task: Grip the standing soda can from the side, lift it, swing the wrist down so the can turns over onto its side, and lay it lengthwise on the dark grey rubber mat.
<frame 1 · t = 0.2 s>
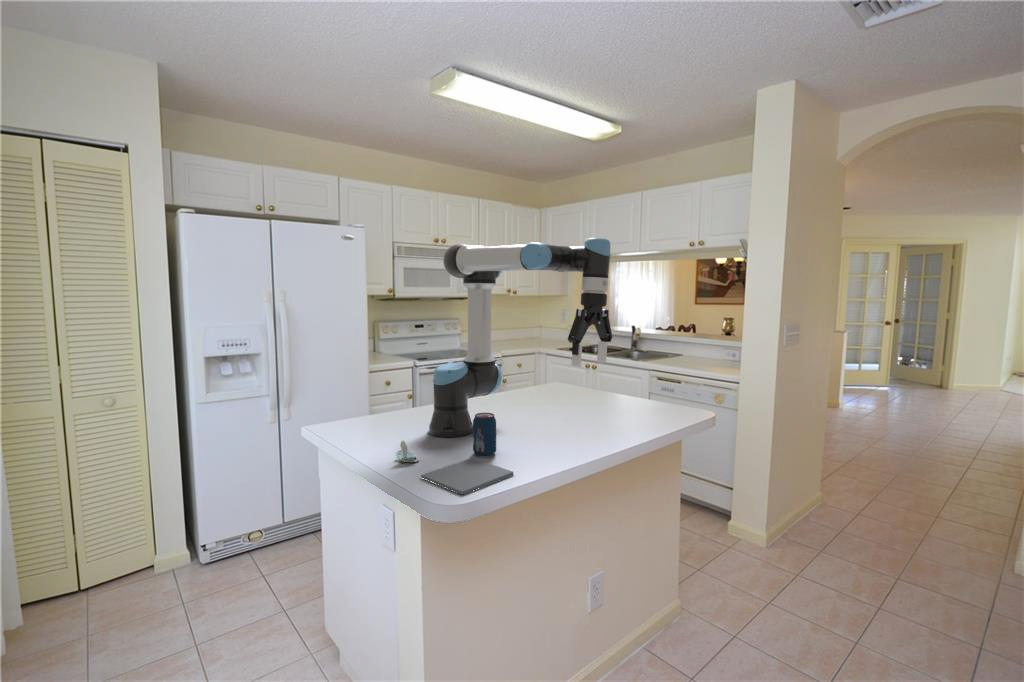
hand: (589, 364, 146), 27 cm above the table, tool pointing down, fingers open, 13 cm apart
soda can: (484, 454, 147), on the table
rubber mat: (467, 476, 129), on the table
pacifier: (408, 461, 141), on the table
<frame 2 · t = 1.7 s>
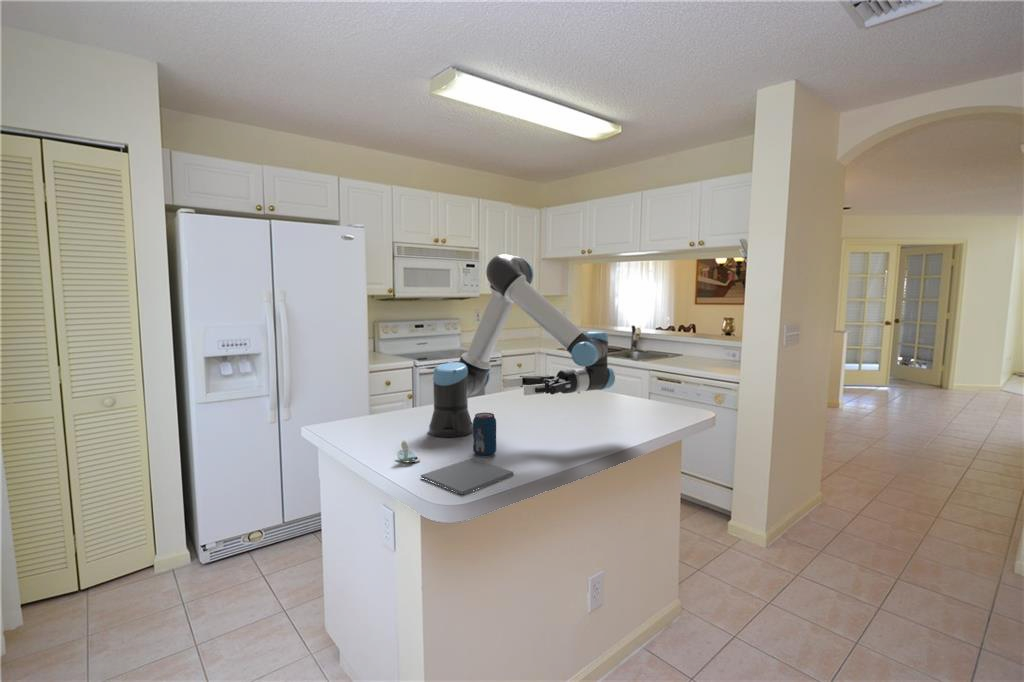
hand: (513, 386, 150), 20 cm above the table, tool horizontal, fingers open, 13 cm apart
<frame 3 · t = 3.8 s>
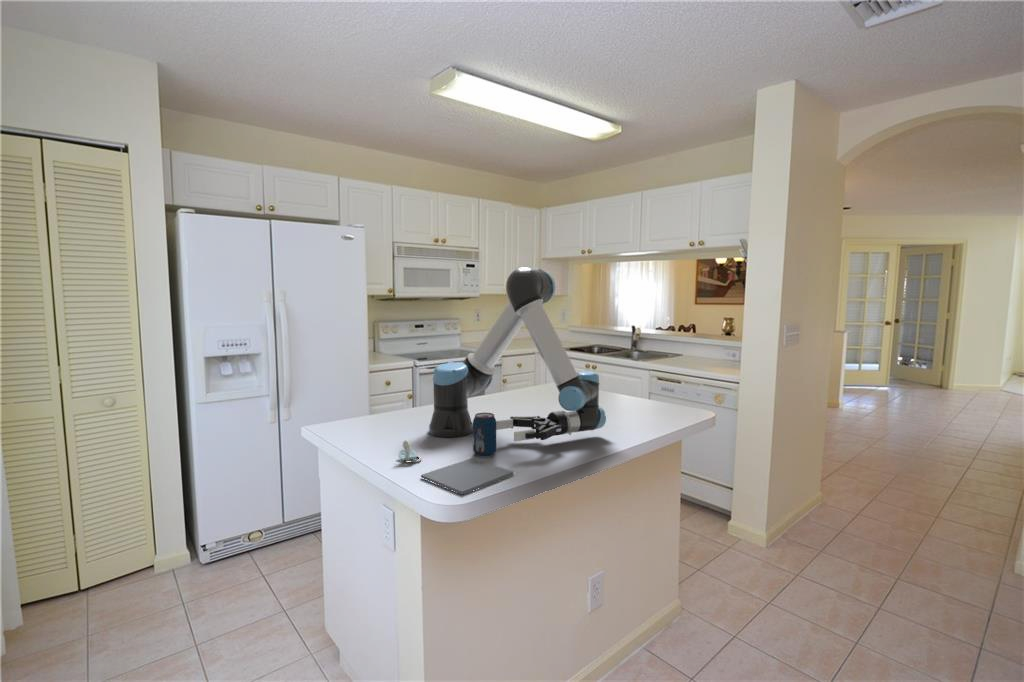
hand: (503, 430, 149), 6 cm above the table, tool horizontal, fingers open, 13 cm apart
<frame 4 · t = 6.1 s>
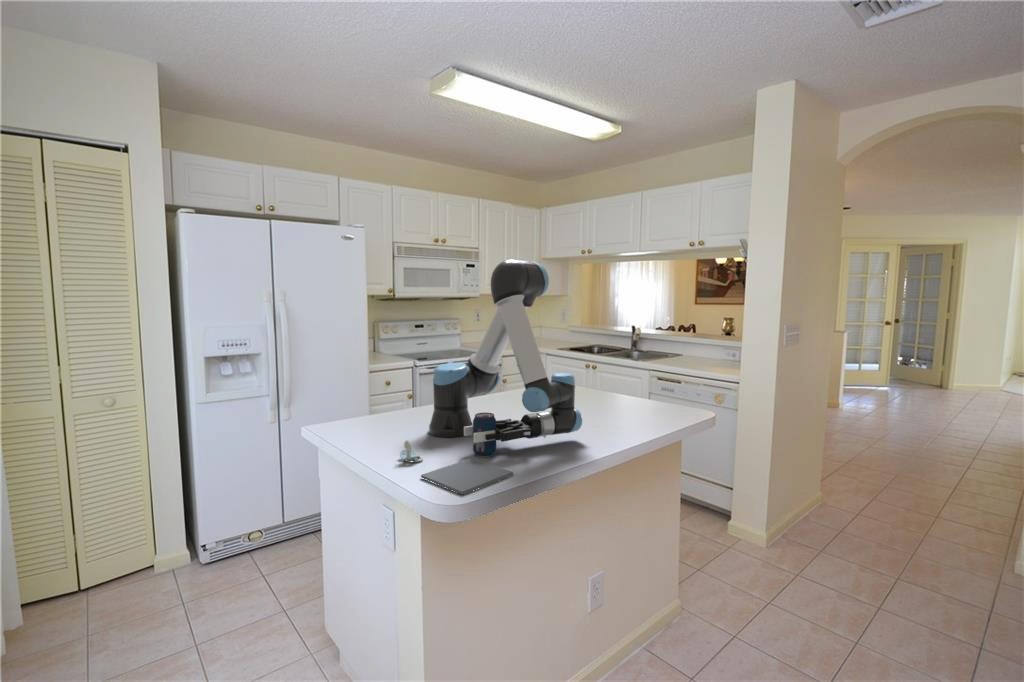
hand: (469, 434, 144), 7 cm above the table, tool horizontal, fingers closed on soda can, 7 cm apart
soda can: (484, 454, 147), on the table, touching gripper
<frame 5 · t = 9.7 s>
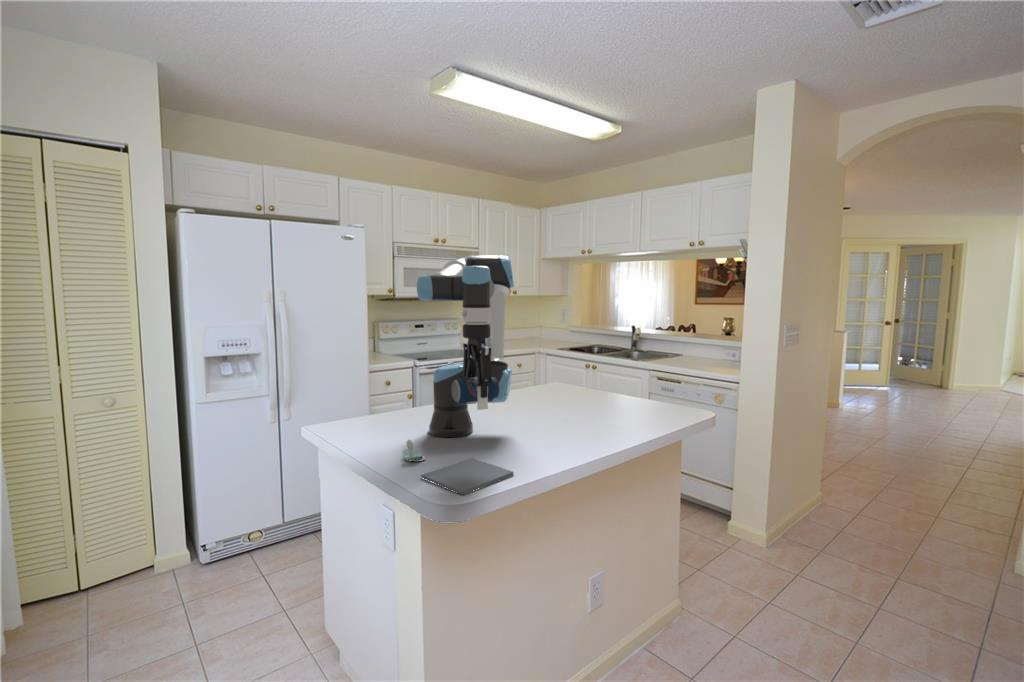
hand: (476, 406, 136), 17 cm above the table, tool pointing down, fingers closed on soda can, 7 cm apart
soda can: (454, 391, 133), point 22 cm above the table, touching gripper
when the fingers open (1 cm above the table, at t = 13.2 s): soda can drops 2 cm, resting on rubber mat.
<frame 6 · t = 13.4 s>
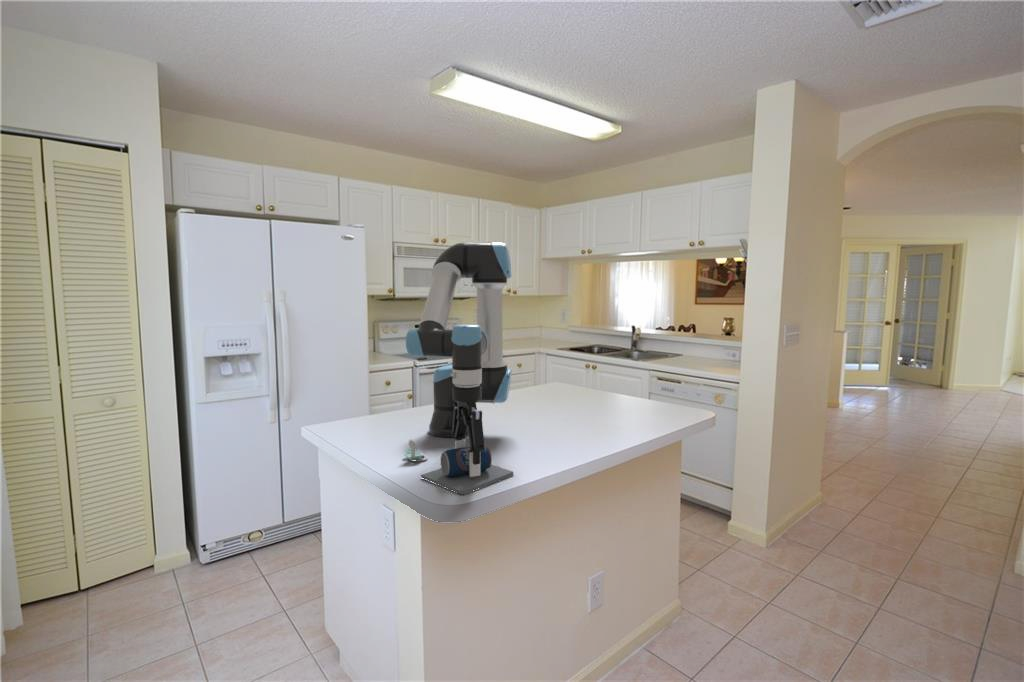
hand: (467, 469, 129), 2 cm above the table, tool pointing down, fingers open, 9 cm apart
soda can: (443, 464, 125), point 4 cm above the table, touching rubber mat
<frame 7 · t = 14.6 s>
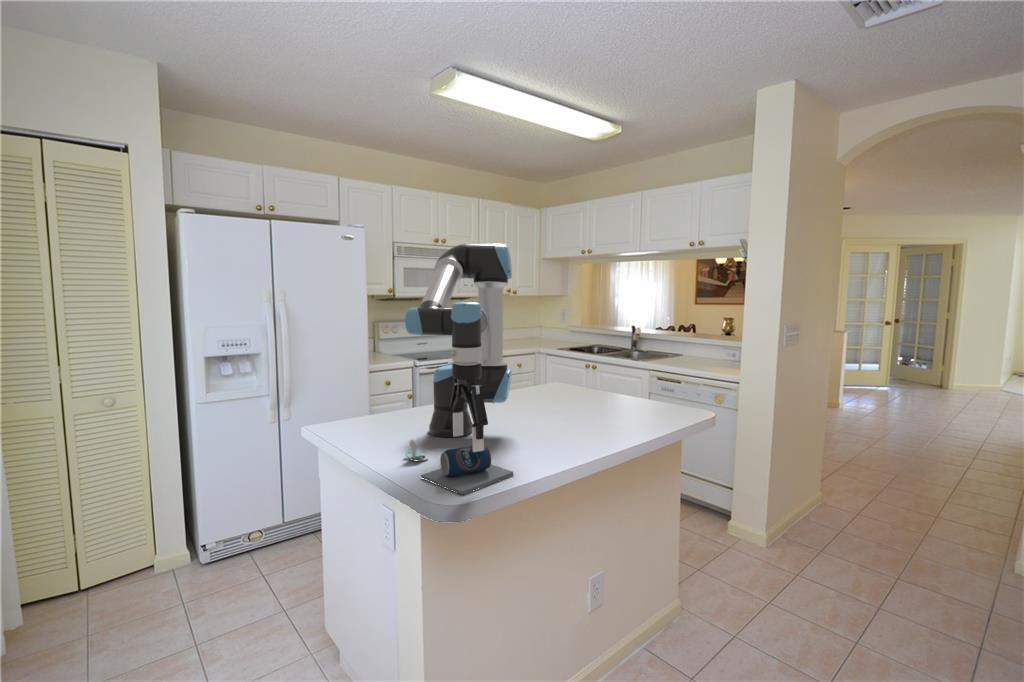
hand: (467, 443, 129), 9 cm above the table, tool pointing down, fingers open, 13 cm apart
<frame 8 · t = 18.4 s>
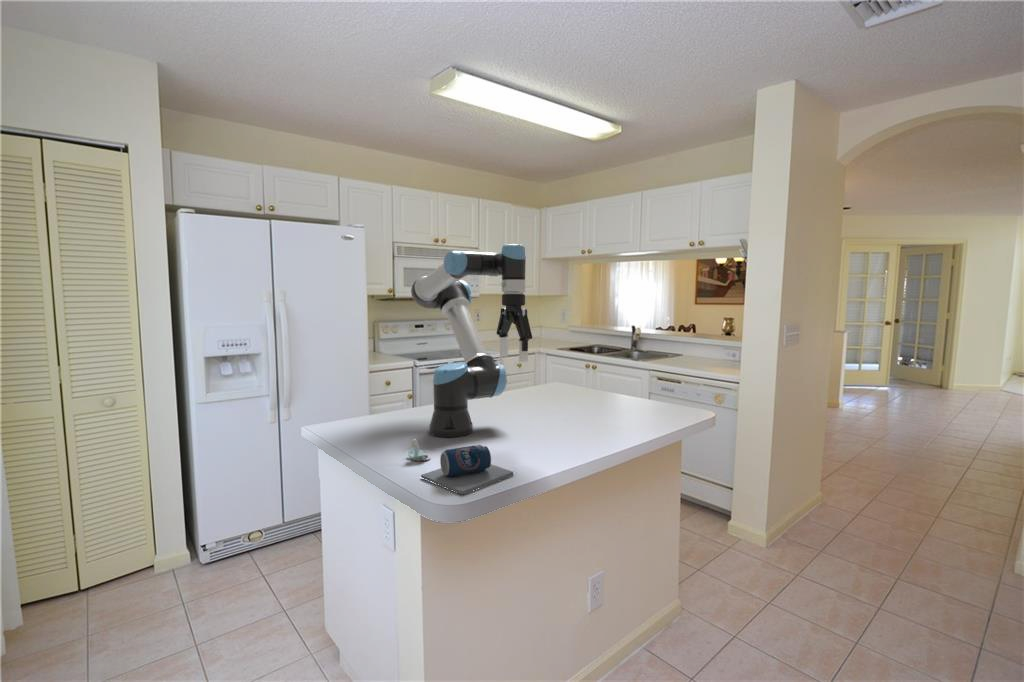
hand: (513, 359, 160), 27 cm above the table, tool pointing down, fingers open, 13 cm apart
at the end: soda can tilted 90°; soda can inside the target area (6.6 cm from its centre), point 4.5 cm above the table; the gripper is holding nothing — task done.
